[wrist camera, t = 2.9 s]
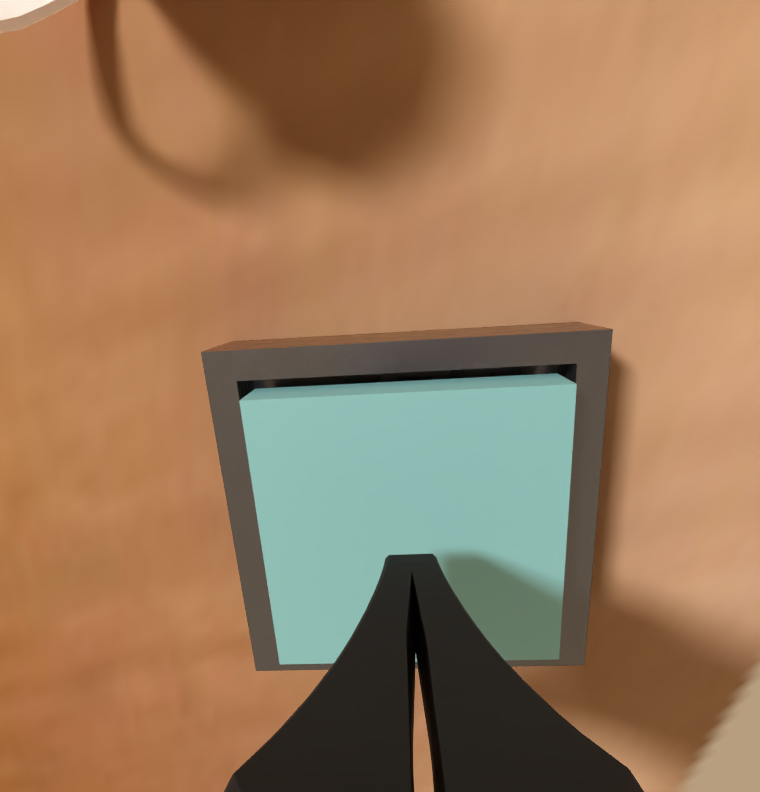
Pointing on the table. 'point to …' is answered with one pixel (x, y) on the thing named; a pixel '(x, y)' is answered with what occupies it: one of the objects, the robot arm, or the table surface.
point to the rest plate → (413, 502)
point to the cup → (28, 12)
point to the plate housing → (409, 361)
